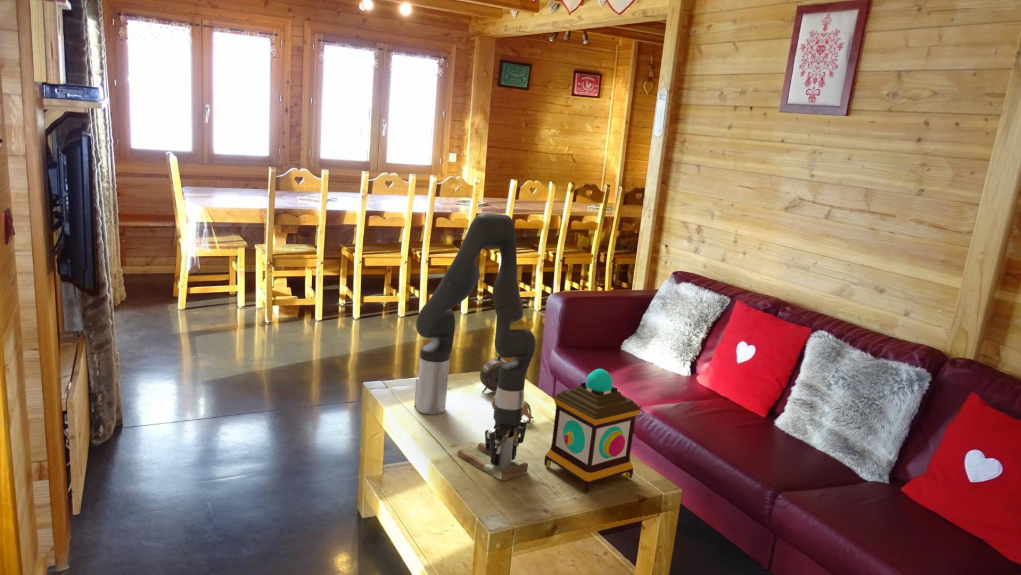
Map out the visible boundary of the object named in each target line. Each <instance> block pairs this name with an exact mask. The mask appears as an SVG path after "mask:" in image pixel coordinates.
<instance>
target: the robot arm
mask: <svg viewBox="0 0 1021 575" xmlns="http://www.w3.org/2000/svg"><path fill="white" fill-rule="evenodd" d="M486 248H488V249H489V248H490V249H498V250H499V253H500V266H499V270H498V271H497V272H498V273H497V275H496V278H495V281H494V282H493V283H494V284H493V288H492V297H493V298H492V299H493V304H494V309H495V314H496V315H495V316H496V317H495V318H496V320H495V321H496V324H495V336H494V348H495V352H496V351H497V353H496V354H498V356H499V355H500V356H501V358H503V359H504V358H505V359H508V358H513V359H511V360H509V361H508V362H507V363H505V364H503V365H502V366H501V367H500V369H499V376H498V386H497V390H496V391H495V395H496V396H495V395H494V396H495V406H494V409H493V415H492V416H493V420H494V425H493V429H491V430H489V429H486V430H485V431H484V440H485V441H484V442H485V443H484V444H485V447H486V450H487V451H489V452H491V455H490V464H491V466H492V465H493V467H494V466H498V465H499V458H500V453H499V452H500V450H501V447H502V446H504V444H505V441H506V439H507V437H511V436H512V435H514V440H513V450H512V460H516V456H517V450H518V447H519V445H520V444H522V443H523V442H524V439H525V434H526V432H527V427H528V423H527V421H524V420H523V416H522V412H523V403H524V401H525V386H526V385H525V383H526V376H527V372H528V369H529V367H530V364H531V362H532V359H533V356H534V354H535V351H536V346H537V341H536V337H535V334H534V333H533V332H532V330H530V329H526V328H523V329H520V328H519V329H511V324H512V323H516V322H518V321H521V320H522V319H523V317H524V309H523V304H522V299H521V294H520V289H519V282H518V281H519V280H518V263H517V260H518V258H517V254H518V253H517V235H516V228H515V224H514V221H513V219H512V218H511V217H510V215H508V214H501V213H488V212H484V213H479V214H477V215H476V216H474V218H473V220H472V221H471V223H470V225H469V227H468V230H467V232H466V234H465V236H464V239H463V241H462V244H461V246H460V248H459V250H458V251H457V254H456V255H455V257H454V259H453V260H452V262H451V264H450V265H449V266H448V268H447V270H446V272H445V273H444V275H443V277H442V279H441V281H440V283H439V284H438V285H437V288H436V289H435V290H434V292H433V293H432V295H431V297H430V298H429V299H428V300H427V302H425V304H424V305H423V307H421V309H420V311H419V313H418V315H417V318H416V324H415V326H416V327H415V328H416V331H417V333H418V334H419V335H420V336H421V337H422V338H426V339H432V340H431V341H430V342H428V343H427V344H425V345H423V346H421V348H420V352H419V363H418V376H417V378H416V379H415V388H414V389H415V391H414V402H413V403H414V407H415V406H416V407H415V409H416V411H417V410H418V411H417V412H419V413H421V414H424V415H431V416H432V415H433V416H434V415H440V414H443V413H444V412H446V407H447V406H446V404H447V394H448V392H447V391H448V380H449V369H450V356H451V353H452V351H453V347H454V346H453V344H454V338H455V331H456V317H455V313H454V311H453V307H456V306H457V305H459V304H460V303H462V302H463V301H464V300H466V299H467V298H468V297H469V296H470V294H471V293H472V291H474V289H475V287H476V285H477V284H478V282H479V280H480V276H481V275H480V267H479V265H478V260H477V258H478V257H479V254H480V253H481V251H482V250H483V249H486ZM519 435H520V436H519ZM497 438H498V439H500V440H501V442H500V441H498V440H497ZM496 444H498V446H497V448H496Z"/></svg>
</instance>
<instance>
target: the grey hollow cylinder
mask: <svg viewBox="0 0 1021 575" xmlns="http://www.w3.org/2000/svg"><path fill="white" fill-rule="evenodd" d="M497 440H498V441H500V442H501V440H500V439H498V438H497ZM513 440H514V435H512V436H511V437H507V439H506V441H505V444H504V446H502V447H501V450H500V452H499V453H500V458H499V465H498V466H494V465H493V467H494V468H496V469H498V470H499V471H501V472H502V471H504V470H507V469H509V468H512V467H511V460H512V450H513ZM497 446H498V444H496V447H495V448H497Z"/></svg>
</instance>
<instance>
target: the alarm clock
mask: <svg viewBox="0 0 1021 575" xmlns="http://www.w3.org/2000/svg"><path fill="white" fill-rule="evenodd" d="M497 354H498V353H497V351H496V350H495V357H494V358H490V359H488V360H487V362H485V364H483V366H482V368H481V370H480V373H479V379H480V381H481V383H482V385H483V386H484V389H483V390H482V394H484V393H485V391H486V390H489V391H492V392H496V390H497V386H498V376H499V369H500V367H501V366H502V365H503V364H505V363H508V362H507V360H505V359H504V358H502V357H501V356H500V355H499V354H498V355H497Z"/></svg>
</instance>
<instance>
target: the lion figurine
mask: <svg viewBox="0 0 1021 575" xmlns="http://www.w3.org/2000/svg"><path fill="white" fill-rule="evenodd" d="M495 396H496V394H495V395H494V396H493V397H492V400H491V407H492V409H493V410H494V406H495ZM523 416H525V417H526V418H527V420H526V422H527V424H530V423H531V421H532V420H533V419H534V416H532V410H531V405H530V404H529V403H528V402H527V401H526V400H524V403H523V412H522V417H523Z"/></svg>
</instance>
